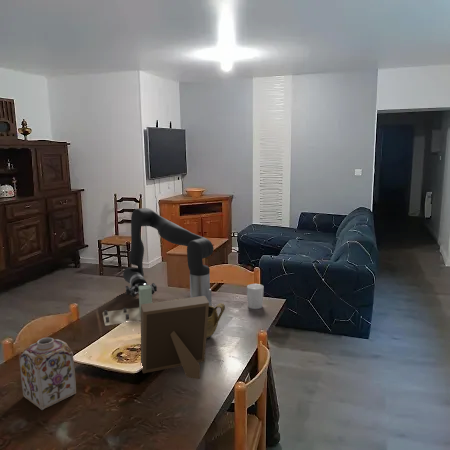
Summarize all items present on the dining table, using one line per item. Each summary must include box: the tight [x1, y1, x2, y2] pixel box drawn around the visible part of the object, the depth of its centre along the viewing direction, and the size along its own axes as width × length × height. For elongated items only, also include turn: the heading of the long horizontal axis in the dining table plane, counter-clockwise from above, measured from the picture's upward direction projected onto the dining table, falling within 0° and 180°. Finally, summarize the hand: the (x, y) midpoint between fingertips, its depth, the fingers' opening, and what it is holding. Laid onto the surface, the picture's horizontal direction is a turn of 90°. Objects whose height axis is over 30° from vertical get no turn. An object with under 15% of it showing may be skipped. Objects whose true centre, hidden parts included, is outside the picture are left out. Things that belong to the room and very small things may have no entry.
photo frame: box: [140, 296, 209, 380], centre depth 143 cm, size 15×22×25 cm
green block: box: [138, 284, 153, 313], centre depth 193 cm, size 5×5×12 cm
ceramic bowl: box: [174, 298, 226, 340], centre depth 170 cm, size 22×17×15 cm
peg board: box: [102, 306, 141, 326], centre depth 192 cm, size 24×16×4 cm, turn 110°
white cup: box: [246, 283, 265, 310], centre depth 203 cm, size 8×8×10 cm
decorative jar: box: [19, 337, 77, 411], centre depth 131 cm, size 12×12×18 cm
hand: (143, 293), depth 198 cm, fingers open, 8 cm apart
